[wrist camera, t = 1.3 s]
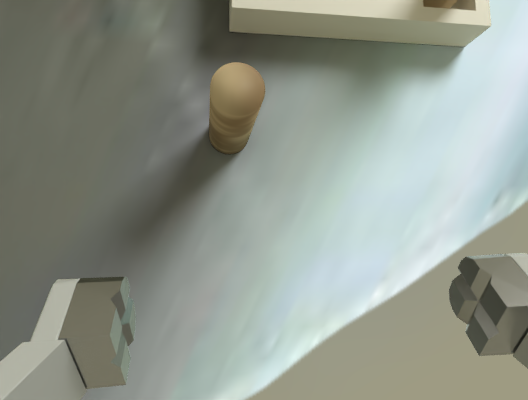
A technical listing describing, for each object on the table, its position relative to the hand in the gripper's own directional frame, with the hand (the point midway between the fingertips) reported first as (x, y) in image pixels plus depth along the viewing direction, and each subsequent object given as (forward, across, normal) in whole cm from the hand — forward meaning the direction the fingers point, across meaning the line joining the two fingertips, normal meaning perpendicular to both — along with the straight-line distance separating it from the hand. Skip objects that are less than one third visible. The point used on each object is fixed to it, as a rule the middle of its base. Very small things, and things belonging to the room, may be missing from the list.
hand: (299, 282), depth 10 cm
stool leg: (+27, +1, +10) cm, 29 cm away
